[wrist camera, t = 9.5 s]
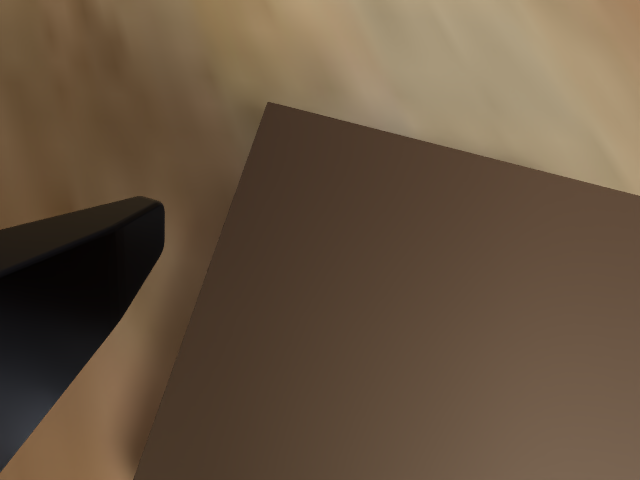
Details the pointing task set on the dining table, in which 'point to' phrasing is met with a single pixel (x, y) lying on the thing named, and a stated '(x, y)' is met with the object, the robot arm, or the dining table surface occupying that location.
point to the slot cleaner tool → (407, 320)
